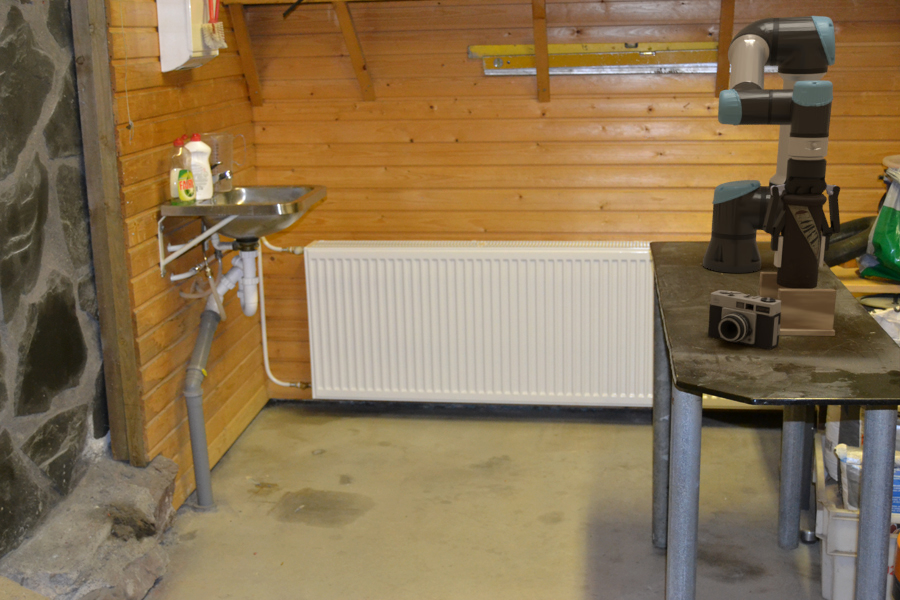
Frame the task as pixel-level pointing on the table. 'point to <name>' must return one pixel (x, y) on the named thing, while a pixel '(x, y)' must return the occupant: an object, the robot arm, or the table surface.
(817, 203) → the container
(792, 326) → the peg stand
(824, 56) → the robot arm
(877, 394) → the table surface
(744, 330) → the camera
